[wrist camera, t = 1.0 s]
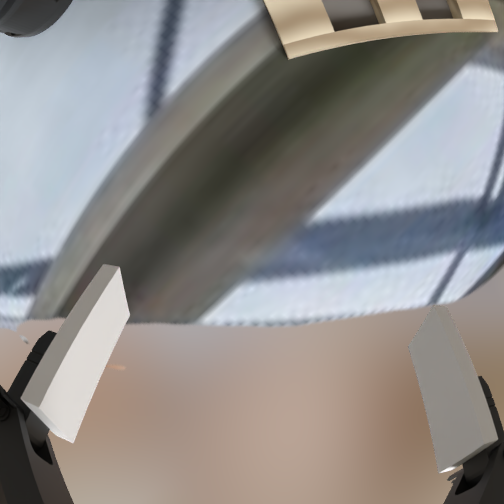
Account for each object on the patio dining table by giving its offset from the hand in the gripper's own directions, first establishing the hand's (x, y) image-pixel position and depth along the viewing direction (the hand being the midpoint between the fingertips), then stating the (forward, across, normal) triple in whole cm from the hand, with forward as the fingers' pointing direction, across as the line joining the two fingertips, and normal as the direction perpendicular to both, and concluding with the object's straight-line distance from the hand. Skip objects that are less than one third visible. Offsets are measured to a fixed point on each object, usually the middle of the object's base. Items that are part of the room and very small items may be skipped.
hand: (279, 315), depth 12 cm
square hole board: (+25, +8, +22) cm, 34 cm away
